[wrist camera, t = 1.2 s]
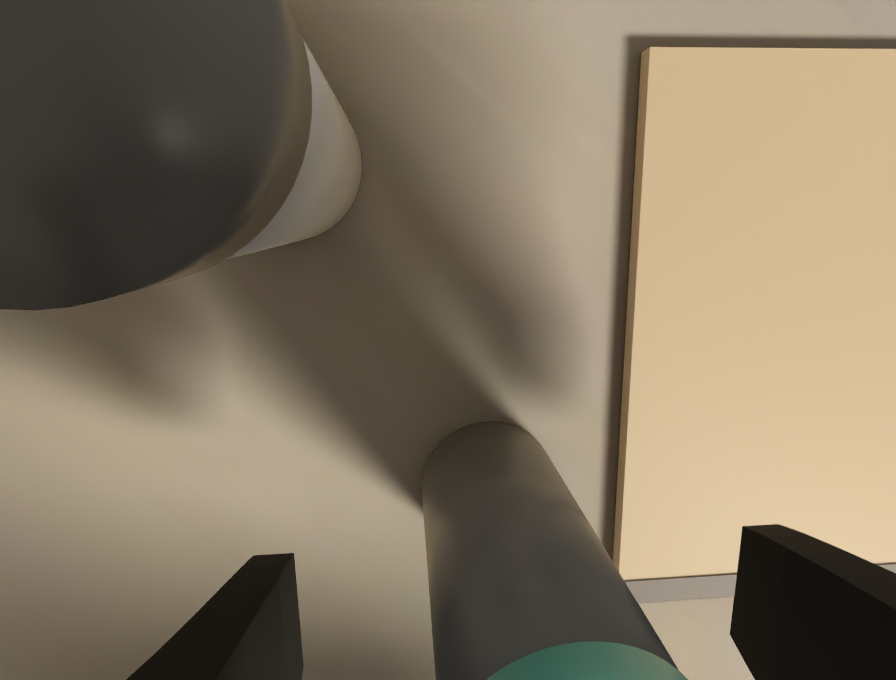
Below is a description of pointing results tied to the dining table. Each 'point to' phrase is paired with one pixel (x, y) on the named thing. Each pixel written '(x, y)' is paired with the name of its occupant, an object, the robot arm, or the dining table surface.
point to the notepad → (758, 312)
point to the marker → (524, 571)
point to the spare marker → (158, 143)
